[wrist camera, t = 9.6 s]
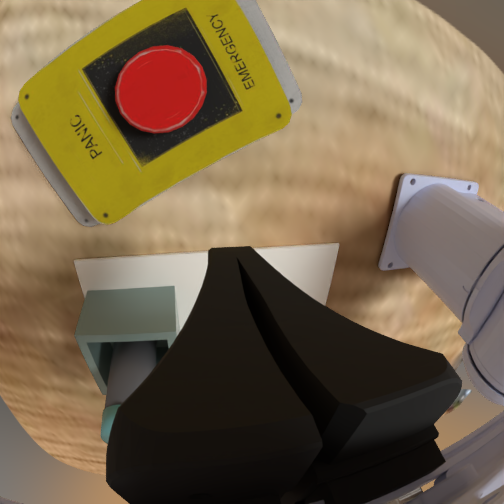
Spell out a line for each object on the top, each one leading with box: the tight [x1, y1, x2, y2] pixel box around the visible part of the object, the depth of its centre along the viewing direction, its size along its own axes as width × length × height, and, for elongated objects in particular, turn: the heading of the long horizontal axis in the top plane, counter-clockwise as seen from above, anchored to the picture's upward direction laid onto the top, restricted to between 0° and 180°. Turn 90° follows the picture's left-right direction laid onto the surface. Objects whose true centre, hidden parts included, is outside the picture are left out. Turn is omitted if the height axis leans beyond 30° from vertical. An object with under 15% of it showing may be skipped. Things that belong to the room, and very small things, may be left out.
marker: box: [101, 340, 157, 444], centre depth 18 cm, size 3×3×9 cm
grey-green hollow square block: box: [74, 286, 180, 395], centre depth 20 cm, size 6×6×4 cm
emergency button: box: [11, 0, 302, 227], centre depth 13 cm, size 9×4×15 cm
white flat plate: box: [74, 243, 339, 331], centre depth 23 cm, size 18×11×1 cm, turn 87°
